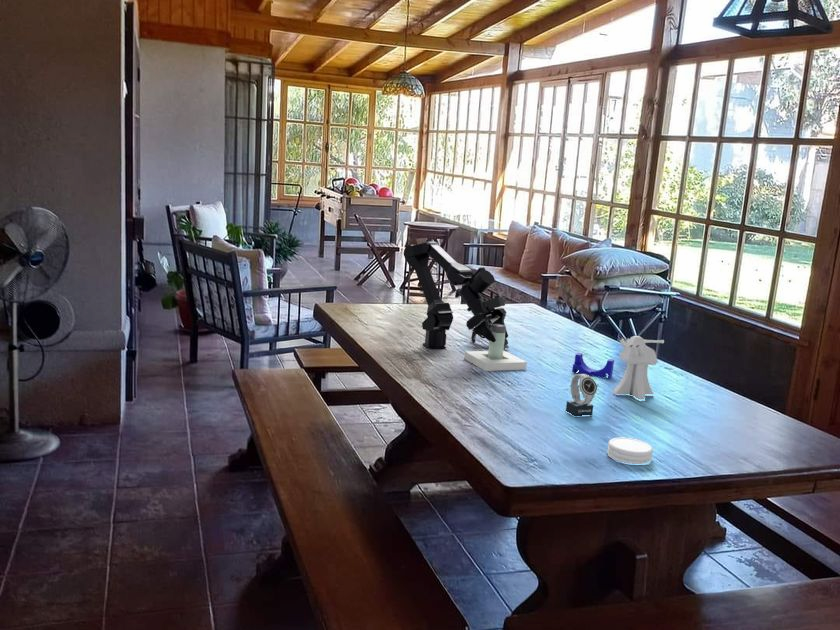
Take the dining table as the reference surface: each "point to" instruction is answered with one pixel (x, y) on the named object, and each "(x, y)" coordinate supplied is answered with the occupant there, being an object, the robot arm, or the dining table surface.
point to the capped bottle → (497, 342)
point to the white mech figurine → (636, 366)
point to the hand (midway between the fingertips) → (501, 339)
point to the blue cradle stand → (585, 369)
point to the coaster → (629, 450)
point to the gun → (487, 339)
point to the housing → (495, 361)
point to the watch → (588, 391)
